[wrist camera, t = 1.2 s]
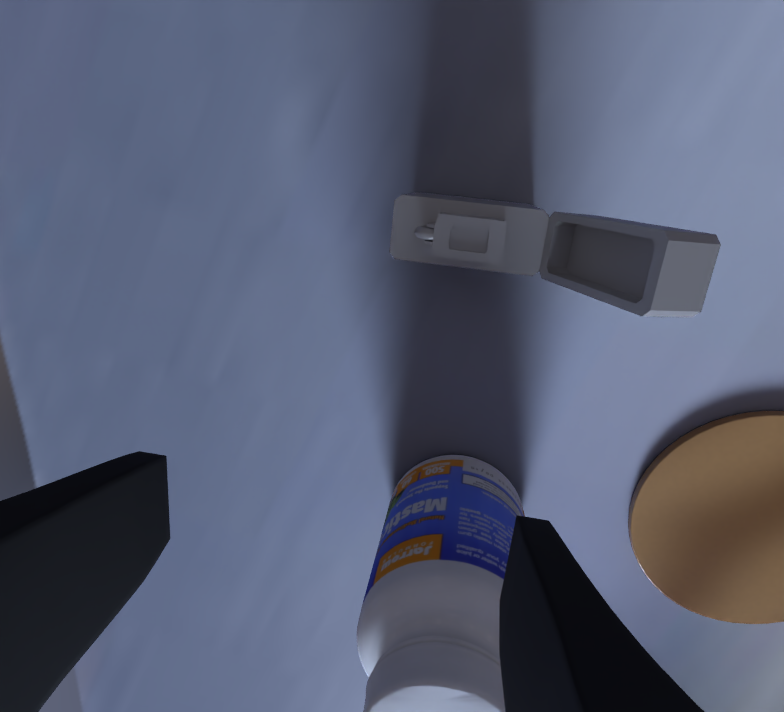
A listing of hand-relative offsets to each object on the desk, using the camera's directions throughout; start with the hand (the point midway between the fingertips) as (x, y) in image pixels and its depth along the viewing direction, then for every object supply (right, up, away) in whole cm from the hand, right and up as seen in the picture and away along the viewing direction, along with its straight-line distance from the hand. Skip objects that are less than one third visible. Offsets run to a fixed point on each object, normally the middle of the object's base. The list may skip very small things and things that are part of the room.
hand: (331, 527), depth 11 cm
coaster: (+15, -3, +9) cm, 18 cm away
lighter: (+5, +8, +8) cm, 12 cm away
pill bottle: (+4, -3, +11) cm, 12 cm away
